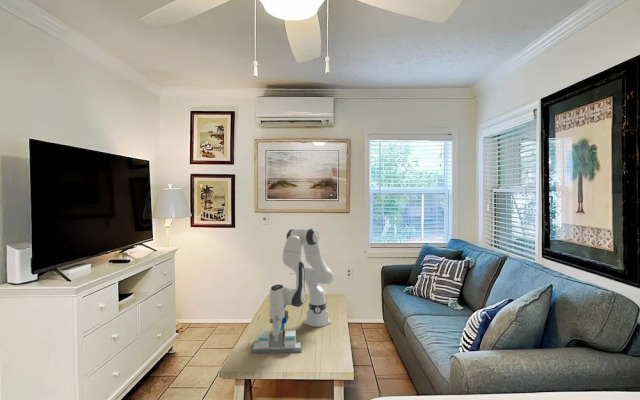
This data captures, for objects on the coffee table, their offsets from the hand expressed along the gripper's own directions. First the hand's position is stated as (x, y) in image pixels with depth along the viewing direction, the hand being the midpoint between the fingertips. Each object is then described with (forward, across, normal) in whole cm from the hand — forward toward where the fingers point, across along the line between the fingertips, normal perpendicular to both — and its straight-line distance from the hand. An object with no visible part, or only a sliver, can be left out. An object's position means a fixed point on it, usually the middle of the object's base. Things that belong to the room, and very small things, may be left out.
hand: (277, 337), depth 208 cm
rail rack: (+7, 0, 0) cm, 7 cm away
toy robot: (+7, +20, +1) cm, 21 cm away
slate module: (+5, 0, 0) cm, 5 cm away
